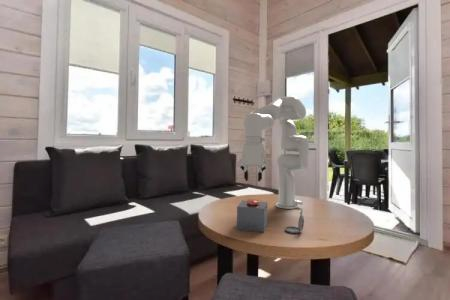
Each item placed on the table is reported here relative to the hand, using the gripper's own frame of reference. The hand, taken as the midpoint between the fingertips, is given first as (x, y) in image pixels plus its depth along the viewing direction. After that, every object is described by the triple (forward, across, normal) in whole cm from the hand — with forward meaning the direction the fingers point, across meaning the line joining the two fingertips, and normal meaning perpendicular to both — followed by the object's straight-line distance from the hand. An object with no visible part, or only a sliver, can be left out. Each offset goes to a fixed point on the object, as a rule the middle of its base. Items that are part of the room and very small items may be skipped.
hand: (253, 180), depth 114 cm
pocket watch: (+22, -19, +1) cm, 29 cm away
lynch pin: (+21, 0, 0) cm, 21 cm away
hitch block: (+21, 0, 0) cm, 21 cm away
